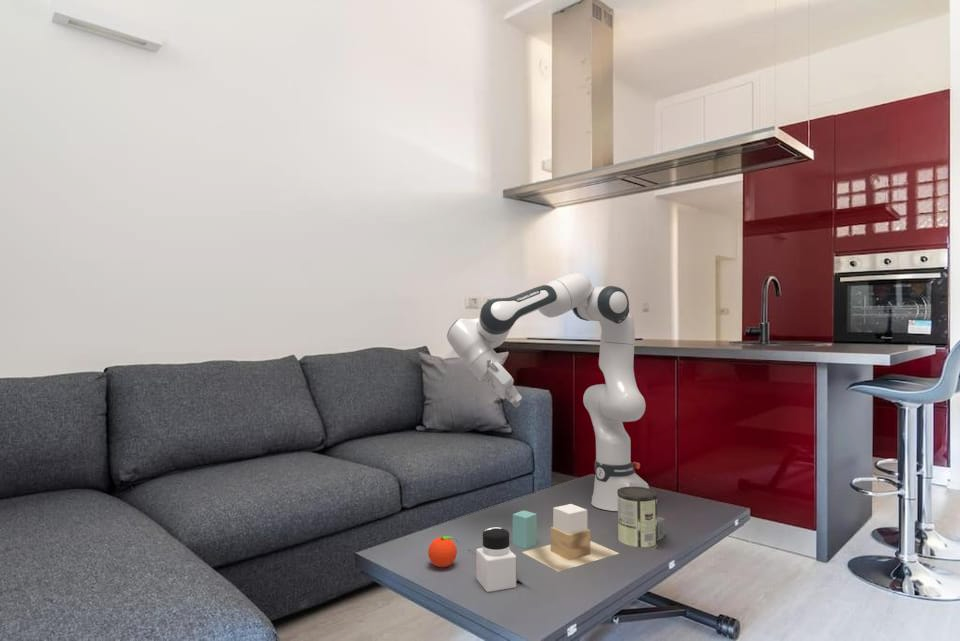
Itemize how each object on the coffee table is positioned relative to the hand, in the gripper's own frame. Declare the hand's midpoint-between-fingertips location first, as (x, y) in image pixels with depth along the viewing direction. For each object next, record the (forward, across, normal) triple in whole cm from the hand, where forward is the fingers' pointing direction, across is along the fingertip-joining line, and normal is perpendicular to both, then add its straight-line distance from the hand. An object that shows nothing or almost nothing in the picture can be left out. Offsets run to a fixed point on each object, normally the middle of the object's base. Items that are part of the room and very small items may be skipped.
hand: (519, 403), depth 161 cm
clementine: (+19, -11, +42) cm, 47 cm away
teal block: (+30, 0, +24) cm, 38 cm away
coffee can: (+49, +3, 0) cm, 49 cm away
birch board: (+38, -6, +17) cm, 42 cm away
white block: (+33, -8, +12) cm, 36 cm away
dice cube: (+51, +8, -5) cm, 52 cm away
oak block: (+37, -6, +16) cm, 41 cm away
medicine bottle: (+30, -20, +34) cm, 49 cm away
